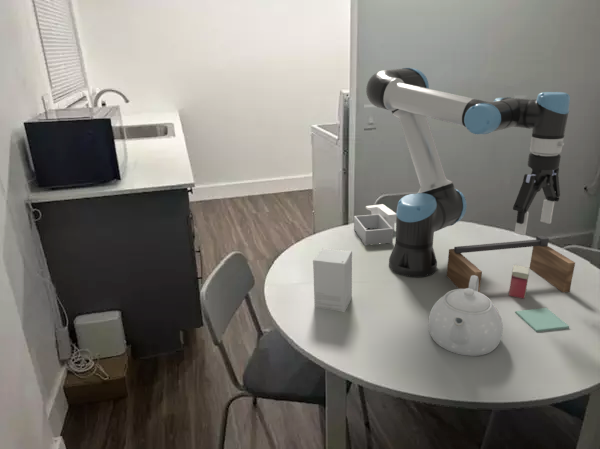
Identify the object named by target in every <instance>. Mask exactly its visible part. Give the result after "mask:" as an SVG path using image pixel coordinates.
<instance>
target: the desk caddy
mask: <svg viewBox="0 0 600 449" xmlns="http://www.w3.org/2000/svg"><path fill="white" fill-rule="evenodd" d="M365 228H374V229H365ZM378 228H379V229H378ZM353 230H354V232H355V231H356V232H357V233H356V232H355V233H356V235H357V236H358V235H359V236H360V237H359V236H358V237H359V239H360V238H361V239H362V240H361V239H360V240H361V241H362V243H363V242H364V243H363V244H364V246H369V245H368V244H377V245H380V244H379V243H390V244H393V240H394V238H393V237H394V231H393V228H392V227H391V226H390V225H389V224H388V223H387V222H386V221H385V220H384V218H383V217H382V216H381V215H380V214H374V215H371V214H366V215H365V214H364V215H363V214H362V215H354V216H353Z"/></svg>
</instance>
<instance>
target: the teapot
mask: <svg viewBox="0 0 600 449" xmlns="http://www.w3.org/2000/svg"><path fill="white" fill-rule="evenodd" d="M478 286H479V279H478V276H475V275H472V276H471V278H470V282H469V288H466V289H459V288H456V289H452V290H449V291H447V292H446V293H445V294H444V295H443V296H441V297H440V298H439V299H438V300H437V301H435V303H434V304H433V306H432V308H431V310H430V312H429V315H428V316H429V317H428V325H427V326H428V332H429V335H430V337H431V338H432V340H433V341H434V342H435V343H436V345H438V346H439V347H441V348H442V349H445V350H446V351H448V352H451V353H454V354H457V355H459V356H460V355H462V356H468V357H472V356H473V357H477V356H478V357H480V356H485V355H487V354H490V353H491V352H493V351H494V350H496V348H497V347H498V346H499V344H500V342H501V340H502V336H503V329H504V328H503V321H502V317H501V315H500V314H501V313H500V312H499V311H498V309H497V307H496V306H495V305H494V303H493V302H492V299H490V298H489V297H488V296H487V295H485V294H484V293H482V292H481V291H480V292H478Z"/></svg>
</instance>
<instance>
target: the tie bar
mask: <svg viewBox="0 0 600 449" xmlns="http://www.w3.org/2000/svg"><path fill="white" fill-rule="evenodd" d="M549 239H550V238H549V237H547V236H545V235H537V236H536V239H528V240H516V241H506V242H505V241H504V242H493V243H483V244H470V245H460V246H454V248H453V249H454V252H455V253H461V254H465V253H478V252H485V251H496V250H497V251H498V250H499V251H500V250H510V249H521V248H529V247H530V248H533V246H549Z"/></svg>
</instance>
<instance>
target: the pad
mask: <svg viewBox="0 0 600 449" xmlns="http://www.w3.org/2000/svg"><path fill="white" fill-rule="evenodd" d="M514 313H515V315H517V316H518V317H520V319H521V320H522V321H523V322H524V323H526V324H527V325H528V326H529V327H530V328H531V329H532V330H534V332H546V331H554V330H555V331H556V330H565V329H569V328H570V325H569V324H567V322H565V321H563V320H562V319H561V318H560V317H558V315H556V314H555V313H554V312H553V311H551V310H550V309H549V308H547V307H543V308H533V309H524V310H516V311H514Z"/></svg>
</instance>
